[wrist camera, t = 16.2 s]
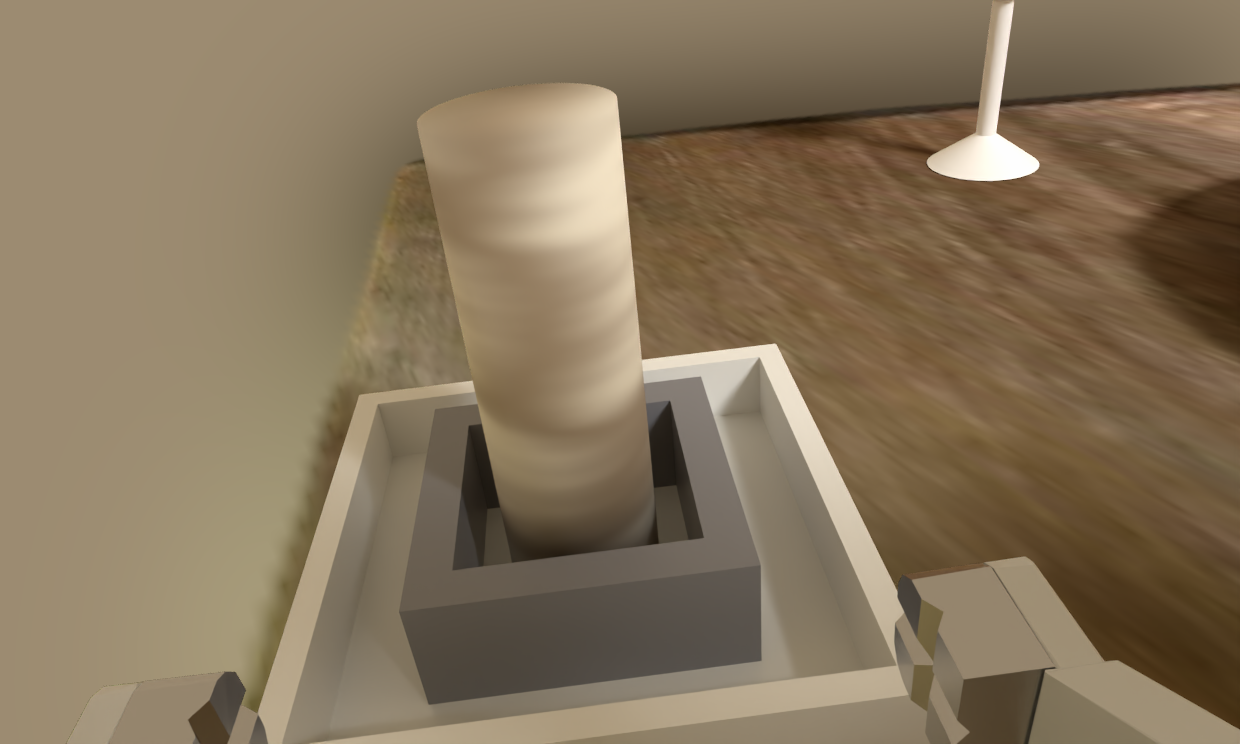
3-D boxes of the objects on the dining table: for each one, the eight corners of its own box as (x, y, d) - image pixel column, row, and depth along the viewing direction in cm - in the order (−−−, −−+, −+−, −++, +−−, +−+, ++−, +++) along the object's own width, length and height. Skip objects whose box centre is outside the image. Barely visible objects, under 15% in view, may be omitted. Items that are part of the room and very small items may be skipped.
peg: (651, 507, 29) (609, 74, 21) (670, 609, 25) (626, 124, 17) (516, 525, 28) (427, 96, 21) (514, 630, 25) (404, 150, 17)
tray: (775, 409, 34) (775, 317, 32) (932, 772, 20) (951, 656, 18) (378, 459, 33) (351, 369, 31) (275, 861, 20) (217, 753, 18)
